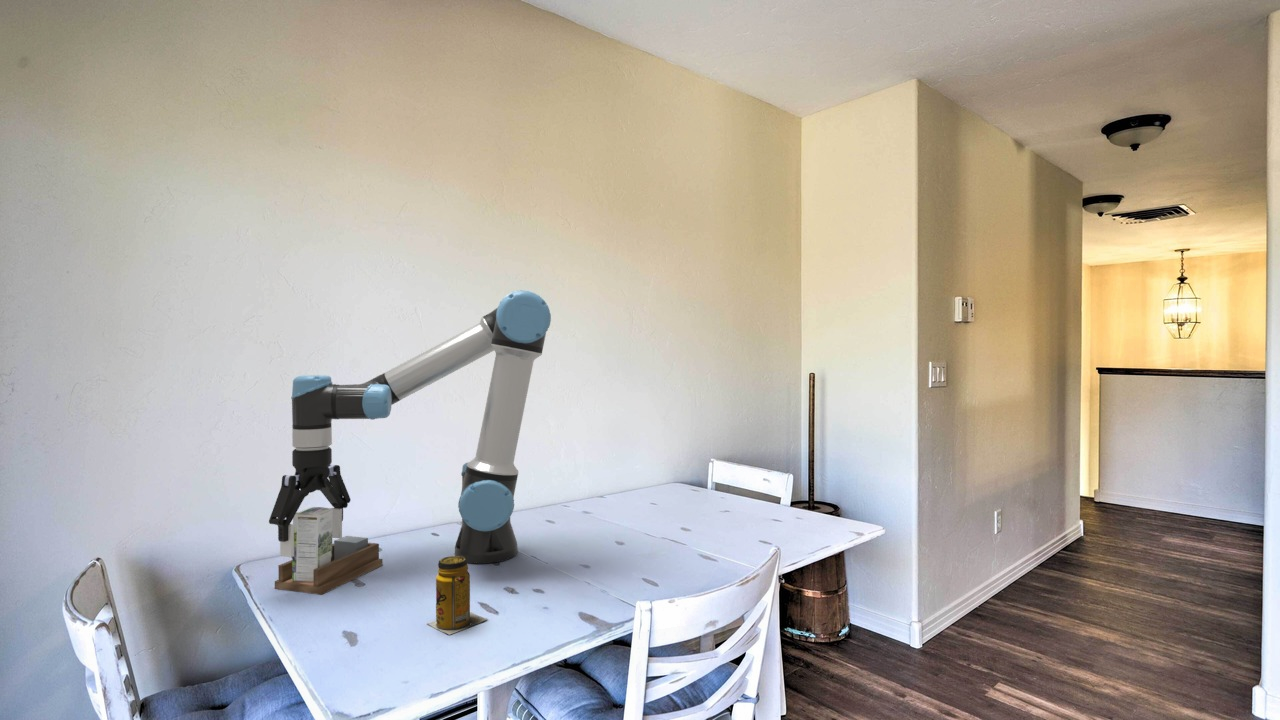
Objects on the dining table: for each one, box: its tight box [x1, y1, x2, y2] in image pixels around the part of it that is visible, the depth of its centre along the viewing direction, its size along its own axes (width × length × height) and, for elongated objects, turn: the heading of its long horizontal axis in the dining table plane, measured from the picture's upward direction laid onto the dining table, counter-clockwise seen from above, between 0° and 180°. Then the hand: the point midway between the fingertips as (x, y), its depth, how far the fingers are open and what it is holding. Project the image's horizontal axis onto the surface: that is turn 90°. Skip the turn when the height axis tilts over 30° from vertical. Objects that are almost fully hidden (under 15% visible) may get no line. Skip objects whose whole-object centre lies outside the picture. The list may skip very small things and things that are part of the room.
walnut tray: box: [274, 542, 383, 596], centre depth 144 cm, size 12×19×5 cm, turn 164°
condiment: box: [426, 555, 488, 636], centre depth 120 cm, size 7×8×12 cm
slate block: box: [333, 535, 369, 561], centre depth 150 cm, size 6×4×5 cm, turn 74°
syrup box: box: [291, 506, 333, 582], centre depth 139 cm, size 6×6×14 cm
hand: (312, 546), depth 139 cm, fingers open, 13 cm apart
